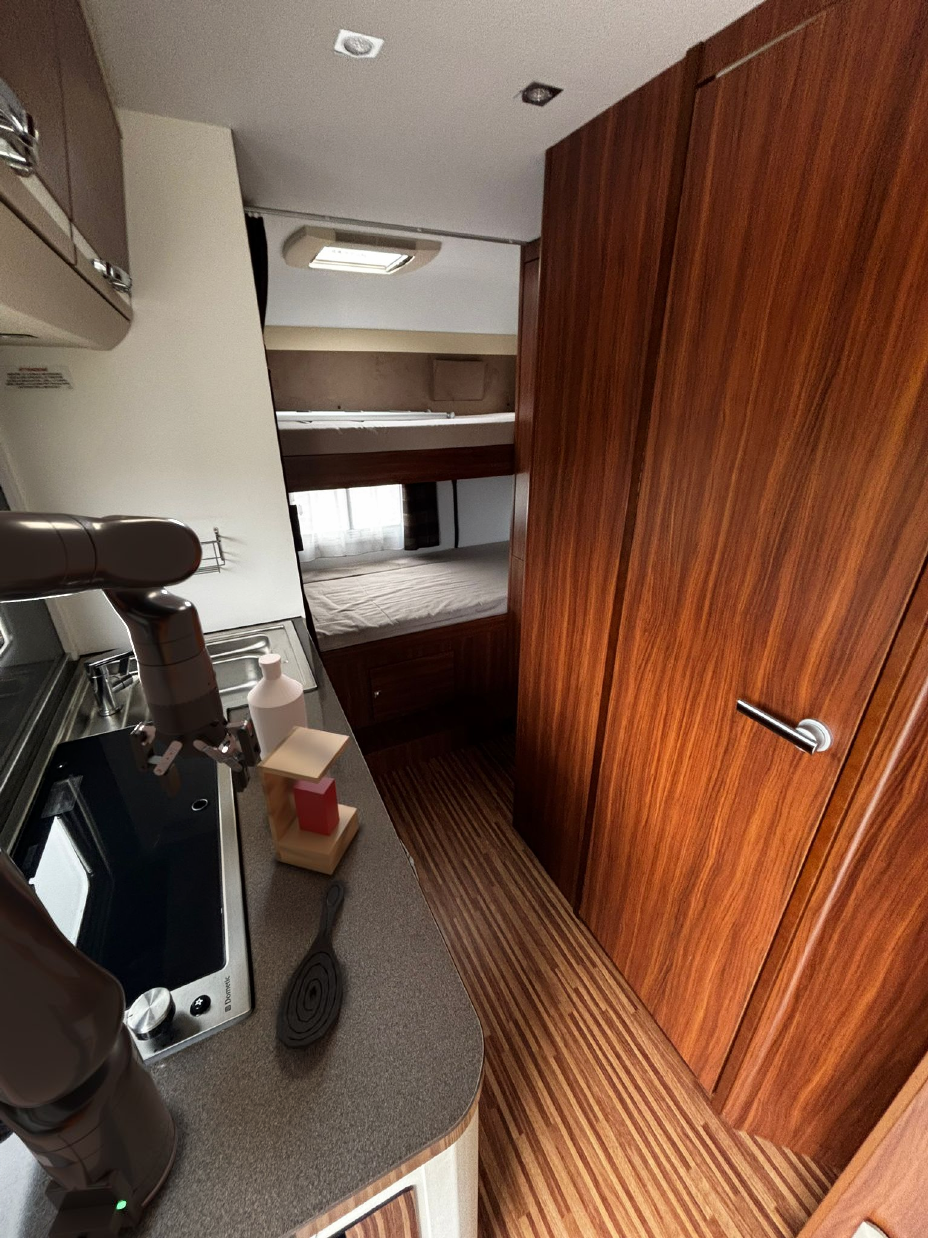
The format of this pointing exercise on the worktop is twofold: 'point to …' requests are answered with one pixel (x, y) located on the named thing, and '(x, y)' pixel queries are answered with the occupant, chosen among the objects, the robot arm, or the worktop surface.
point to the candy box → (317, 805)
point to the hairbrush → (314, 984)
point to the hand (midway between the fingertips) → (209, 789)
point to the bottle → (275, 704)
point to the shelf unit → (279, 772)
